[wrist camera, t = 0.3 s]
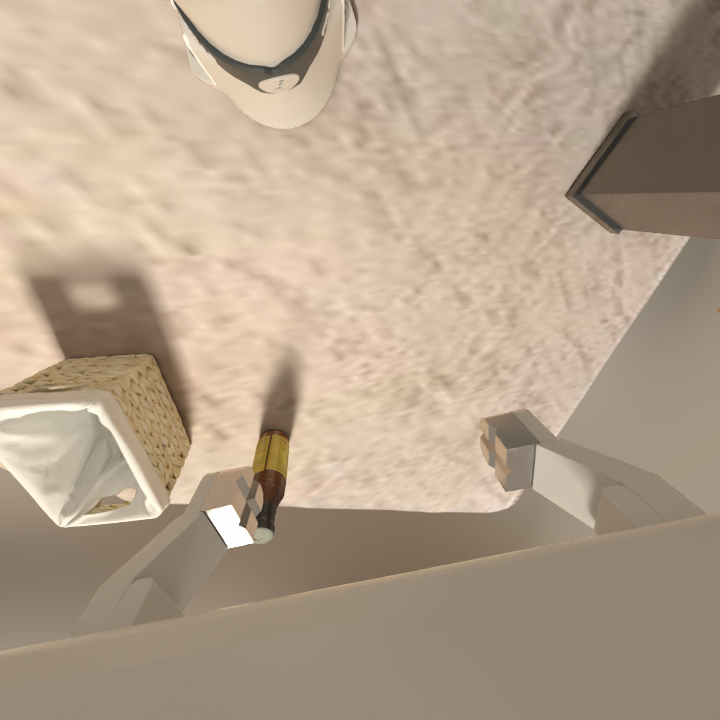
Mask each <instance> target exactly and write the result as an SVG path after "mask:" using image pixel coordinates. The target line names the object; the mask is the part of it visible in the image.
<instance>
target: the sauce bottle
mask: <svg viewBox="0 0 720 720" xmlns="http://www.w3.org/2000/svg"><path fill="white" fill-rule="evenodd" d="M288 454H289V440H288V438H287V436H286V435H285V434H284V433H283V432H280V431H275V430H271V431H267V432H265V433H263V434H262V435H261V436H260V438H259V442H258V444H257V447H256V452H255V457H254V461H253V466H252V470H253V471H254V473H255V475H254V478H253V479H254V480H255V481H257V482H259V483H260V485H261V487H262V491H263V506H262V510H261V512H260V513H259V514H258V515H257V516H256V520H257V522H258V526H257V529H256V533H255V537H254V541H253V542H252V543H256V544H263V543H266V542H268V541H270V540H271V539H272V538H273V536H274V529H275V526H274V519H275V514H276V508H277V507H278V505H279V503H280V502H281V500H282V499H283V497H284V492H285V486H286V477H287V467H288Z"/></svg>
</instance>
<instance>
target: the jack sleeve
mask: <svg viewBox="0 0 720 720" xmlns="http://www.w3.org/2000/svg"><path fill="white" fill-rule="evenodd" d="M565 197H566V198H567V199H568V200H570V201H571V202H572V203H573V204H575V205H576V206H577V207H578V208H580V209H581V210H582V211H583V212H585V213H586V214H587V215H589V216H590V217H591V218H592V219H594V220H595V221H596V222H597V223H599V224H600V225H601V226H602V227H604V228H605V229H606V230H607V231H609V232H610V233H615V234H619V233H620V232H621V230H632V231H642V232H651V233H661V234H671V235H681V236H691V237H701V238H710V239H720V94H719V95H716V96H712V97H708V98H704V99H700V100H697V101H693V102H689V103H685V104H682V105H678V106H674V107H670V108H666V109H663V110H659V111H655V112H651V113H648V114H644V115H640V116H639V115H638V114H637V113H636V112H635V111H631V112H628V113H624V114H623V116H622V117H621V119H620V120H619V121H618V123H617V124H616V126H615V127H614V128H613V130H612V131H611V133H610V134H609V135H608V137H607V138H606V140H605V141H604V142H603V144H602V145H601V146H600V148H599V149H598V151H597V152H596V153H595V155H594V156H593V158H592V159H591V160H590V162H589V163H588V165H587V166H586V167H585V169H584V170H583V172H582V173H581V174H580V176H579V177H578V178H577V180H576V181H575V183H574V184H573V185H572V187H571V188H570V190H569V191H568V192H567V194H566V195H565Z"/></svg>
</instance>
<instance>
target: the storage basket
mask: <svg viewBox="0 0 720 720" xmlns="http://www.w3.org/2000/svg"><path fill="white" fill-rule="evenodd" d="M190 448H191V444H190V442H189V439H188V436H187V435H186V432H185V428H184V426H183V425H182V421H181V418H180V415H179V414H178V411H177V408H176V406H175V404H174V402H173V401H172V398H171V395H170V393H169V392H168V389H167V386H166V383H165V381H164V380H163V378H162V375H161V373H160V369H159V367H158V366H157V363H156V361H155V358H154V357H153V356H152V355H148V354H138V355H134V354H130V355H115V356H111V357H108V356H98V357H93V358H91V357H84V358H79V359H77V358H74V359H67V360H64V361H61V362H59V363H57V364H55V365H53V366H52V367H48V368H46V369H45V370H42V371H39V372H38V373H36V374H34V375H33V376H31V377H29V378H26V379H24V380H23V381H22V382H19V383H17V384H15V385H14V386H13V387H10V388H6V389H4V390H1V391H0V461H1V462H2V464H3V465H4V466H5V467H6V468H7V469H8V470H9V471H10V472H11V473H12V475H13V476H14V477H15V478H16V479H17V480H18V481H19V482H20V483H21V484H22V485H23V487H24V488H25V489H26V490H27V491H28V492H29V494H30V495H31V496H32V497H33V498H34V499H35V501H36V502H37V503H38V504H39V505H40V507H41V508H42V509H43V510H44V511H45V512H46V513H47V514H48V515H49V517H50V518H51V519H52V520H53V521H54V522H55V523H56V524H57V525H58V526H60V527H70V526H85V525H96V524H105V523H115V522H124V521H133V520H141V519H150V518H156V517H158V516H159V515H160V514H161V513H162V512H163V510H164V509H165V508H166V507H167V506H168V504H169V503H170V498H169V496H170V493H171V491H172V489H173V487H174V485H175V483H176V481H177V480H176V479H178V477H179V476H180V472H181V469H182V467H183V466H184V462H185V459H186V458H187V456H188V453H189V450H190ZM124 489H136V490H137V491H136V495H135V497H134V499H133V500H132V502H131V503H128V501H127V502H125V503H123V504H111V505H102V506H100V504H101V502H102V499H103V498H106V497H110V496H113V495H117V494H119V493H120V492H121V491H122V490H124Z"/></svg>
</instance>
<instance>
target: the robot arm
mask: <svg viewBox="0 0 720 720" xmlns="http://www.w3.org/2000/svg"><path fill="white" fill-rule="evenodd" d="M170 2H171V5H172V7H173V9H174V10H175V11H178V14H179V19H180V23H181V28H182V32H183V34H182V35H183V38H184V41H185V46H186V50H187V55H188V59H189V64H190V67H191V69H192V71H193V72H194V74H195V75H196V76H197V78H198V79H200V80H201V81H202V82H204V83H205V84H207V85H209V86H211V87H213V88H215V89H217V90H220V91H222V92H223V93H224V94H225V95H226V96H227V97H228V98H229V99H230V100H231V101H232V102H233V103H234V104H235V105H236V106H237V107H238V108H239V109H240V110H241V111H242V112H243V113H245V114H246V115H247V116H249V117H250V118H252V119H253V120H255V121H257V122H258V123H260V124H263V125H265V126H268V127H272V128H279V129H288V128H294V127H297V126H300V125H303V124H305V123H307V122H308V121H310V120H311V119H312V118H314V117H315V116H316V115H317V114H318V113H319V112H320V111H321V109H322V108H323V107H324V105H325V104H326V102H327V101H328V99H329V97H330V95H331V93H332V90H333V87H334V84H335V81H336V77H337V73H338V69H339V66H340V63H341V61H342V59H343V58H344V57H345V55H346V54H347V53H348V51H349V50H350V48H351V47H352V45H353V43H354V41H355V39H356V35H357V24H356V19H355V16H354V13H353V9H352V6H351V3H350V0H170ZM480 429H481V430H482V432H483V434H482V436H481V437H480V444H481V449H482V453H483V455H484V457H485V459H486V461H487V463H488V464H489V465H490V466H492V467H493V468H495V476H496V477H497V479H498V481H499V482H500V484H501V485H502V487H503V488H504V490H505V492H508V491H514V490H520V489H526V488H531V487H533V489H534V490H535V491H537V492H539V493H540V494H541V495H543V496H545V497H546V498H547V499H549V500H550V501H552V502H554V503H555V504H557V505H558V506H560V507H561V508H563V509H564V510H566V511H567V512H569V513H570V514H572V515H573V516H575V517H576V518H578V519H579V520H581V521H582V522H584V523H585V524H587V525H588V526H590V527H591V528H593V533H592V537H587V538H582V539H576V540H572V541H566V542H561V543H556V544H551V545H545V546H541V547H535V548H530V549H525V550H520V551H515V552H509V553H505V554H499V555H494V556H490V557H484V558H479V559H474V560H469V561H464V562H458V563H453V564H448V565H443V566H438V567H433V568H428V569H423V570H418V571H413V572H407V573H402V574H397V575H392V576H387V577H382V578H377V579H371V580H366V581H361V582H356V583H351V584H346V585H340V586H336V587H330V588H325V589H320V590H314V591H309V592H304V593H299V594H294V595H289V596H284V597H278V598H273V599H269V600H263V601H258V602H253V603H248V604H242V605H237V606H232V607H227V608H222V609H217V610H212V611H206V612H201V613H196V614H191V615H186V614H185V613H184V612H183V610H184V609H185V607H186V606H187V605H188V603H189V602H190V600H191V599H192V597H193V596H194V595H195V594H196V592H197V591H198V590H199V588H200V587H201V585H202V584H203V583H204V581H205V580H206V579H207V577H208V576H209V574H210V573H211V572H212V571H213V569H214V568H215V566H216V565H217V563H218V562H219V561H220V560H221V558H222V557H223V556H224V554H225V553H226V552H227V550H228V548H230V547H235V546H239V545H243V544H248V543H252V542H253V541H254V537H255V533H256V529H257V526H258V522H257V520H256V516H257V515H258V514H259V513H260V512H261V510H262V506H263V491H262V487H261V485H260V483H259V482H257V481H255V480H254V479H253V478H254V475H255V473H254V471H253V470H252V468H251V467H249V466H247V467H241V468H236V469H230V470H224V471H221V472H215V473H209V474H206V475H205V476H204V477H203V478H202V480H201V482H200V484H199V486H198V488H197V490H196V491H195V493H194V495H193V497H192V499H191V501H190V503H189V505H188V507H187V509H186V510H185V512H184V514H183V516H180V517H178V518H176V519H175V520H174V521H173V522H172V523H171V524H170V525H168V526H167V527H166V528H165V529H164V530H163V531H162V532H161V533H159V534H158V535H157V536H156V537H155V538H154V539H153V540H152V541H150V542H149V543H148V544H147V545H146V546H145V547H144V548H143V549H142V550H140V551H139V552H138V553H137V554H136V555H135V556H134V557H133V558H131V559H130V560H129V561H128V562H127V563H126V564H125V565H123V566H122V567H121V568H120V569H119V570H118V571H117V572H116V573H115V574H113V575H112V576H111V577H110V578H109V579H108V580H107V581H106V582H104V583H103V584H102V585H101V586H100V588H99V589H98V591H97V593H96V594H95V596H94V597H93V599H92V600H91V602H90V604H89V605H88V606H87V608H86V610H85V611H84V613H83V614H82V616H81V617H80V619H79V620H78V622H77V623H76V625H75V627H74V628H73V630H72V631H71V633H70V634H69V636H68V637H67V639H62V640H58V641H52V642H47V643H42V644H37V645H32V646H27V647H21V648H16V649H11V650H6V651H1V652H0V720H720V512H716V513H710V514H706V513H705V512H704V511H702V510H701V509H700V508H699V507H697V506H696V505H695V504H694V503H692V502H691V501H690V500H688V499H687V498H686V497H685V496H684V495H682V494H681V493H680V492H679V491H677V490H676V489H675V488H674V487H672V486H671V485H670V484H669V483H667V482H666V481H665V480H663V479H662V478H661V477H660V476H658V475H656V474H653V473H651V472H648V471H645V470H643V469H640V468H638V467H635V466H632V465H630V464H627V463H624V462H622V461H619V460H617V459H614V458H612V457H609V456H606V455H604V454H601V453H598V452H596V451H593V450H591V449H588V448H585V447H583V446H580V445H577V444H575V443H572V442H569V441H567V440H564V439H560V440H558V439H557V438H556V437H555V436H554V435H553V434H552V433H551V432H550V431H549V430H548V429H547V428H546V427H545V426H544V425H543V424H542V423H541V422H540V421H539V420H538V419H537V418H536V417H535V416H534V415H533V414H532V413H531V412H529V411H528V410H527V409H521V410H516V411H512V412H510V413H504V414H499V415H494V416H490V417H485V418H481V420H480Z"/></svg>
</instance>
